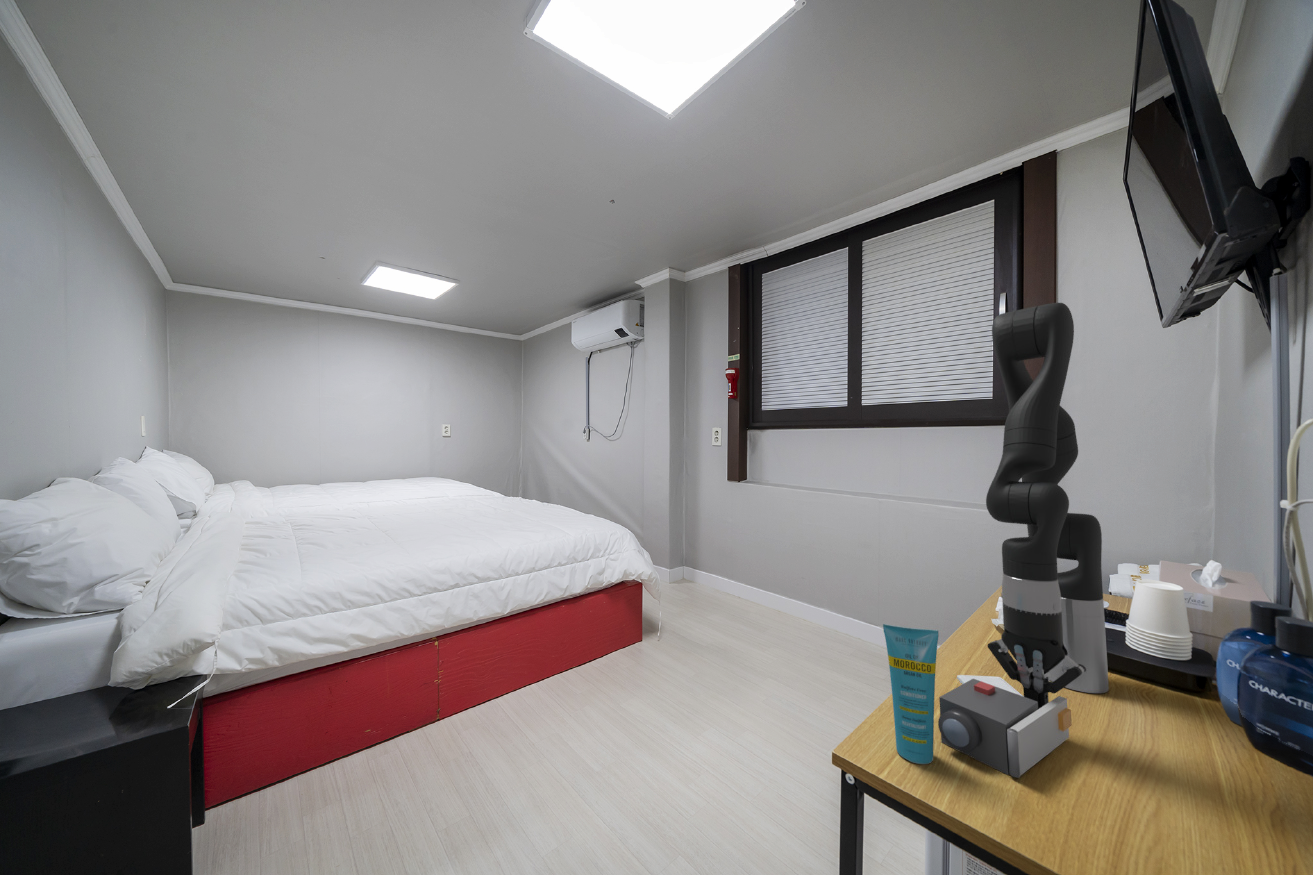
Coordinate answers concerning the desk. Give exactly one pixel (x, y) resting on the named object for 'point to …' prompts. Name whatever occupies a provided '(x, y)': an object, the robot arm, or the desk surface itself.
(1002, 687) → the external hard drive
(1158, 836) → the desk surface
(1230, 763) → the desk surface
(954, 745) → the camera body
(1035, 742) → the door
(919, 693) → the tube
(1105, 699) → the desk surface
